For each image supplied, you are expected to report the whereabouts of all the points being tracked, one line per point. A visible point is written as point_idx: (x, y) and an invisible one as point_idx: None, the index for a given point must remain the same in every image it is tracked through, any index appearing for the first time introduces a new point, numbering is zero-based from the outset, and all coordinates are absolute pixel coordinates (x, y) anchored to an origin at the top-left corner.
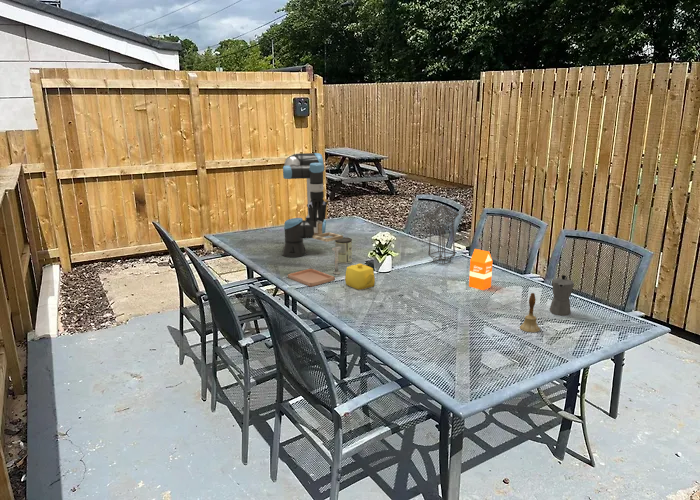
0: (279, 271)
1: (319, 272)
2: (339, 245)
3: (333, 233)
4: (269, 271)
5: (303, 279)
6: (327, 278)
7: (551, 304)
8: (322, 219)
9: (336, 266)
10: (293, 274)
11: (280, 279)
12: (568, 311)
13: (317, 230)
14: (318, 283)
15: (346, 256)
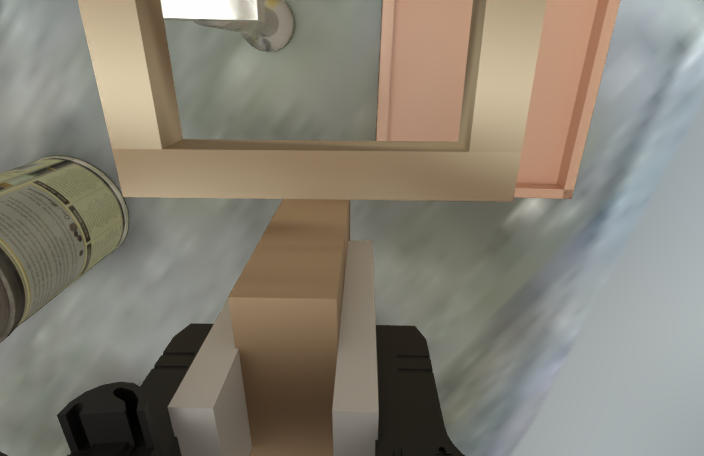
0: (500, 312)
1: (389, 81)
2: (28, 247)
3: (97, 47)
4: (535, 345)
5: (544, 70)
6: None
7: None
8: (93, 450)
9: (264, 7)
10: (528, 186)
11: (614, 194)
12: None
13: (360, 265)
14: None
15: (46, 174)
